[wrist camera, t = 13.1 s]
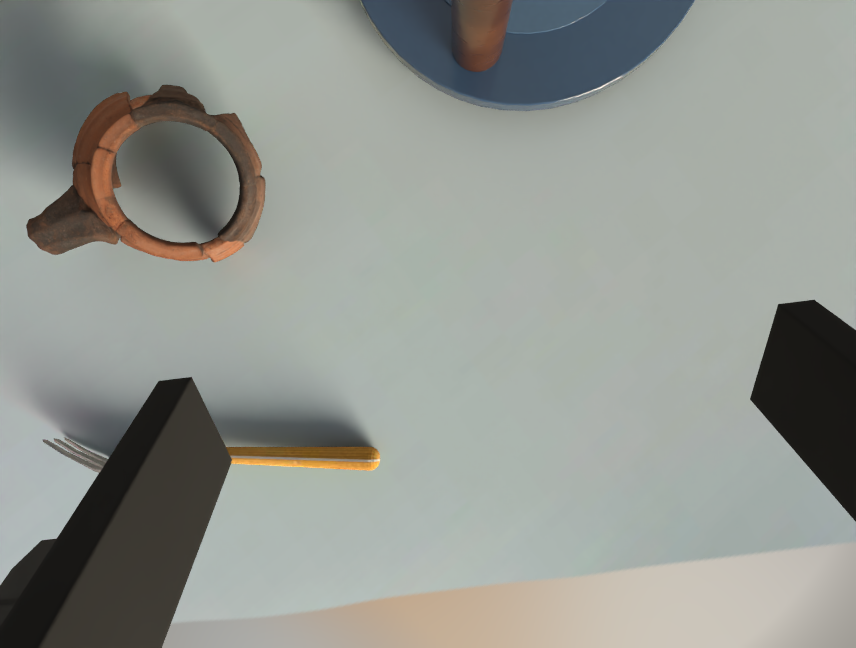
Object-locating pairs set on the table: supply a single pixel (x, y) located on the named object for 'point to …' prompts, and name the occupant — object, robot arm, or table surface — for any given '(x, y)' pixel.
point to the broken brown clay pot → (97, 176)
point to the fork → (261, 456)
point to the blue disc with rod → (524, 45)
